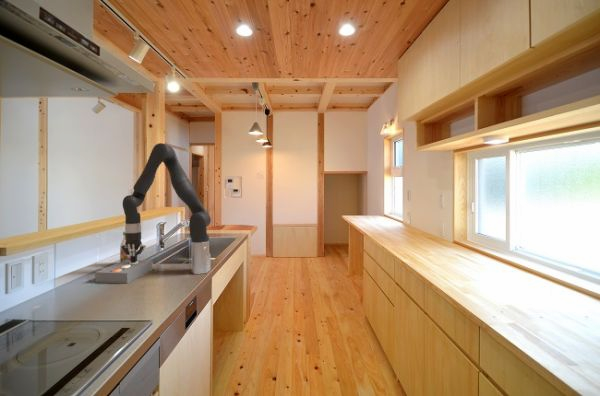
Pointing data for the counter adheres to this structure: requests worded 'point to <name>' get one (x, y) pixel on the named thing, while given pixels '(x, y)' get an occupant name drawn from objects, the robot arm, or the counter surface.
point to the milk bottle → (122, 254)
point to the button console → (123, 272)
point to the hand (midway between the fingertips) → (133, 262)
